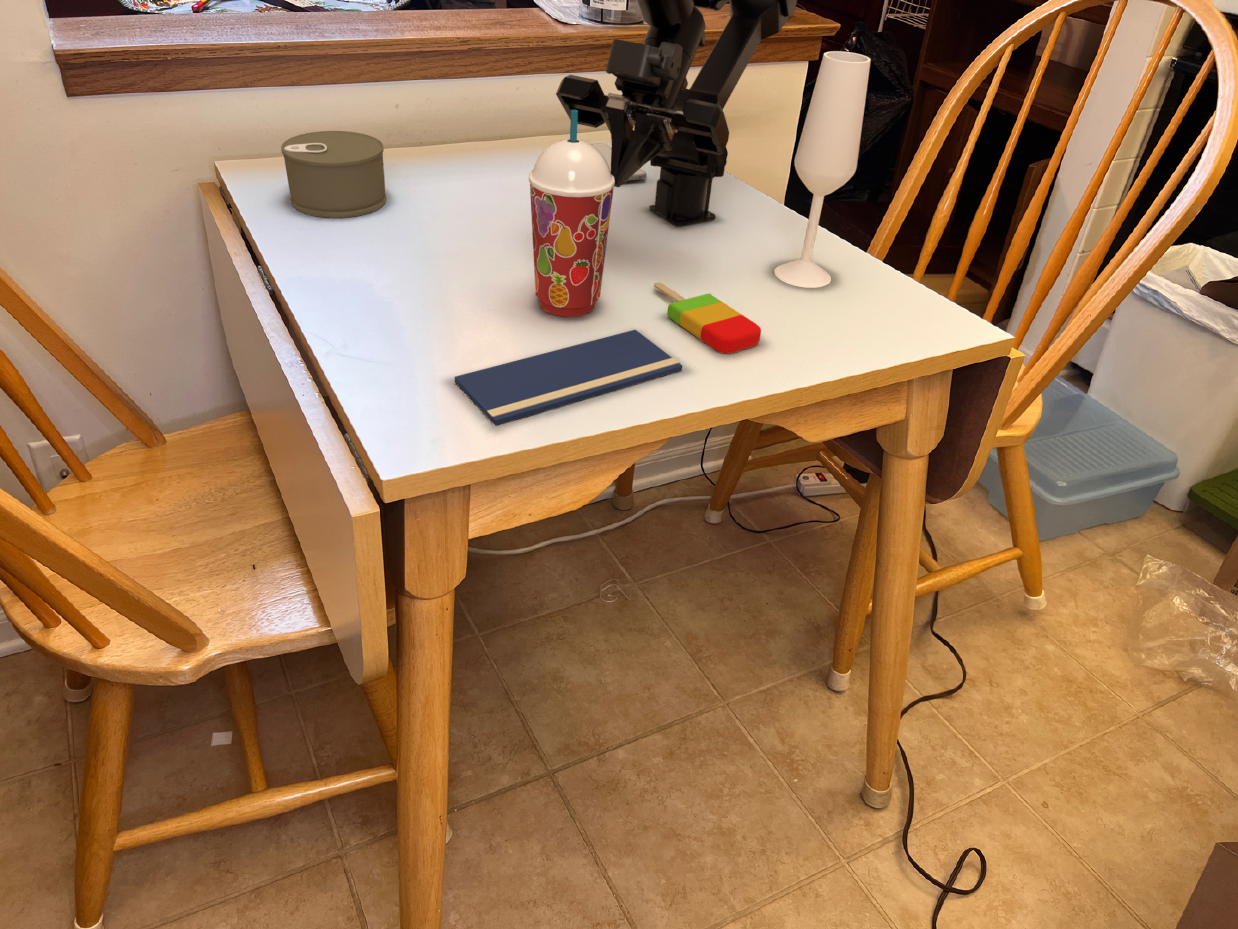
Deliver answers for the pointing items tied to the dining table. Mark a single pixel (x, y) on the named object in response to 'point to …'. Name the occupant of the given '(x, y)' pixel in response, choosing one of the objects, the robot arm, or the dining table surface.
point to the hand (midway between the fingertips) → (614, 184)
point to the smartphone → (606, 153)
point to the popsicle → (712, 321)
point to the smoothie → (570, 224)
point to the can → (335, 173)
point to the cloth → (565, 376)
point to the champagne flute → (828, 149)
